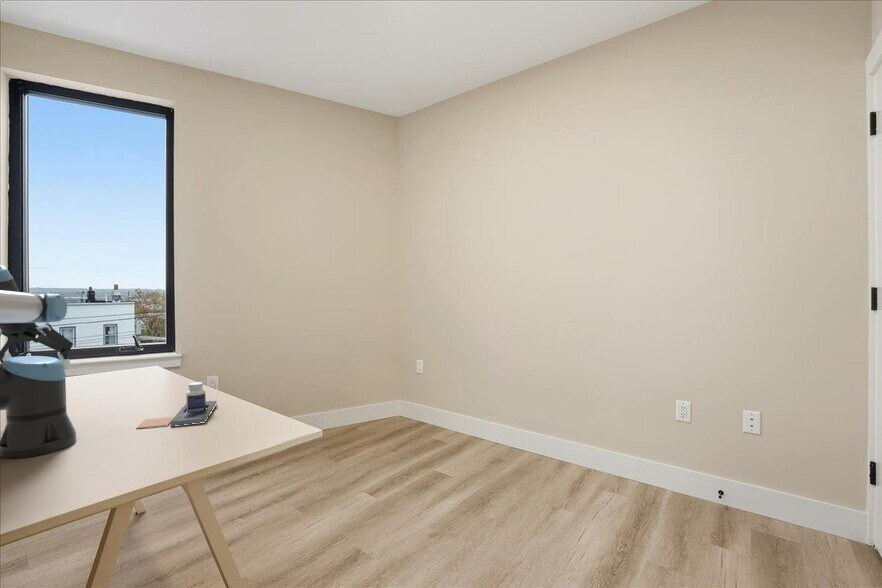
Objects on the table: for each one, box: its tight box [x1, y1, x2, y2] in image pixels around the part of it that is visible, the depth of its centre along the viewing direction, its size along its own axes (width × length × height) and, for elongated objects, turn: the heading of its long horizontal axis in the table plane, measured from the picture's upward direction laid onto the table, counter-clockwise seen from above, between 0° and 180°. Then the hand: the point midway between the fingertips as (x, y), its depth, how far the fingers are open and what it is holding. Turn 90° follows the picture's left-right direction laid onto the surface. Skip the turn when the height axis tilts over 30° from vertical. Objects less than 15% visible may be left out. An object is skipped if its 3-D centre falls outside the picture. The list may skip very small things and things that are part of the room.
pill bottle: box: [185, 381, 207, 412], centre depth 146 cm, size 5×5×10 cm
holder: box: [169, 400, 217, 427], centre depth 144 cm, size 20×9×2 cm, turn 17°
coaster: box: [135, 416, 175, 430], centre depth 137 cm, size 8×8×1 cm
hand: (41, 368), depth 142 cm, fingers open, 13 cm apart
